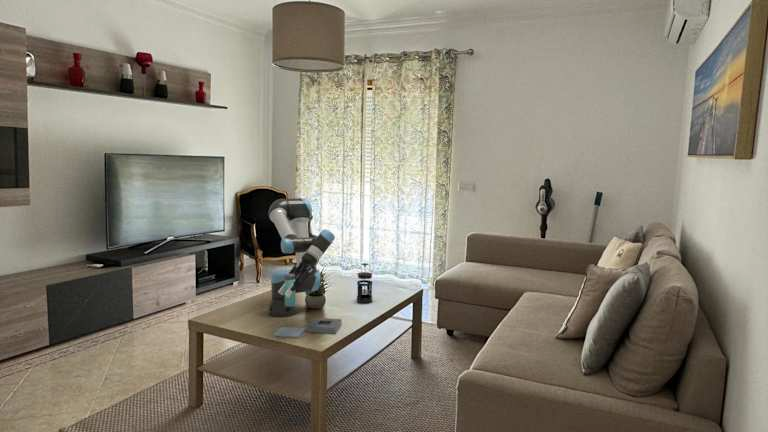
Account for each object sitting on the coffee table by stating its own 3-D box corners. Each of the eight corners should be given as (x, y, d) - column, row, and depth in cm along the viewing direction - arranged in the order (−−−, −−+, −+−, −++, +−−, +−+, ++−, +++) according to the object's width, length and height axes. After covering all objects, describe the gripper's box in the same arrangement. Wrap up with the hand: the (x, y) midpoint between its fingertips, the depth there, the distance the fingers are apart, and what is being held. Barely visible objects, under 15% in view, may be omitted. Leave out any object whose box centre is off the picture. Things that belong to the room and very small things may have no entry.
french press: (362, 298, 323) (363, 261, 320) (375, 300, 318) (376, 263, 315) (352, 303, 312) (352, 264, 310) (365, 305, 308) (366, 266, 305)
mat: (273, 336, 254) (273, 334, 253) (281, 328, 265) (281, 326, 265) (298, 338, 252) (298, 336, 252) (305, 329, 264) (305, 328, 264)
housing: (307, 332, 261) (307, 326, 260) (314, 323, 274) (314, 317, 274) (335, 333, 259) (335, 327, 258) (341, 324, 272) (341, 319, 272)
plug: (283, 306, 254) (283, 275, 253) (286, 303, 259) (286, 273, 257) (293, 306, 254) (293, 276, 252) (296, 304, 258) (296, 273, 257)
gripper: (327, 264, 258) (298, 303, 249) (306, 258, 271) (278, 295, 262) (318, 254, 254) (288, 294, 245) (297, 249, 267) (268, 286, 258)
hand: (283, 294), depth 253 cm, fingers closed on plug, 5 cm apart
